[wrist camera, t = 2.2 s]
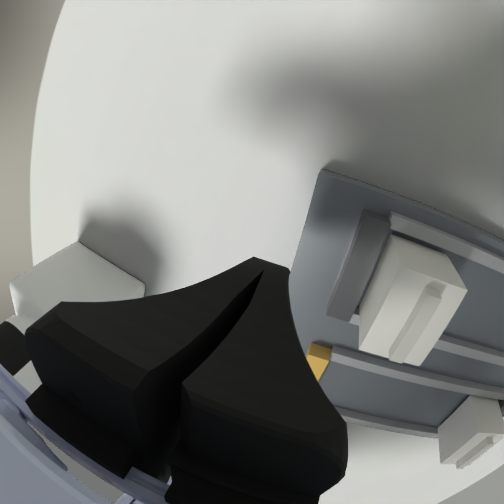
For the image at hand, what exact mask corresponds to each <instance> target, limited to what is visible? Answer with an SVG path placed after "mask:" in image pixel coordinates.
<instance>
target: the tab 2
mask: <svg viewBox="0 0 504 504" xmlns="http://www.w3.org/2000/svg"><path fill="white" fill-rule="evenodd" d="M503 437H504V421H503V417H502V413H501V409H500V406H499V402H498V399H491V398H485V397H479V396H474V395H470V396H469V397H468V398H467V399H466V400H465V401H464V402H463V403H462V404H461V405H460V407H459V408H458V409H457V410H456V411H455V412H454V413H453V414H452V415H451V416H450V417H449V418H448V419H447V420H446V421H445V422H444V423H443V424H441V425H440V426H439V427H438V438H439V451H440V464H456V467H457V469H463V468H464V467H466V466H467V465H470V464H471V463H473V462H474V461H475V460H476V459H478V458H479V457H480V456H482V455H483V454H484V453H485V452H487V451H488V450H489V449H490V448H492V447H493V446H494V445H495V444H496V443H497V442H499V441H500V440H501V439H502V438H503Z"/></svg>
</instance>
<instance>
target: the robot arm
mask: <svg viewBox="0 0 504 504" xmlns="http://www.w3.org/2000/svg"><path fill="white" fill-rule="evenodd" d="M289 275H290V270H289V269H288V268H286V267H283V266H280V265H277V264H274V263H271V262H268V261H265V260H262V259H259V258H256V257H252V258H250V259H248V260H246V261H244V262H242V263H240V264H238V265H236V266H235V267H233V268H231V269H229V270H227V271H224V272H222V273H220V274H218V275H216V276H214V277H211V278H209V279H206V280H204V281H202V282H199V283H197V284H194V285H191V286H188V287H185V288H182V289H178V290H175V291H171V292H167V293H163V294H158V295H153V296H148V297H142V298H137V299H129V300H120V301H107V302H65V301H61V302H60V303H58V304H57V305H56V306H55V307H53V308H52V309H51V310H49V311H48V312H47V313H46V314H44V315H43V316H42V317H41V318H39V319H38V320H37V321H36V322H34V323H33V324H32V325H31V326H29V327H28V328H27V329H26V331H25V334H24V339H25V346H26V349H27V352H28V354H29V357H30V359H31V361H32V363H33V366H34V368H35V370H36V372H37V374H38V376H39V378H40V380H41V382H42V384H41V385H40V386H39V387H38V388H37V389H36V390H35V391H34V392H33V393H32V394H31V393H30V392H29V391H28V390H26V389H25V388H24V387H23V386H22V385H21V384H20V383H19V382H18V381H17V380H16V379H15V378H14V377H13V376H12V375H11V374H10V373H9V372H8V371H7V370H6V369H5V368H4V367H3V366H2V365H1V364H0V504H113V503H112V502H110V501H109V500H107V499H105V498H104V497H102V496H101V495H99V494H98V493H96V492H95V491H93V490H91V489H90V488H89V487H87V486H85V485H84V484H83V483H81V482H80V481H79V480H77V479H75V478H74V477H73V476H72V475H70V474H69V473H67V470H68V469H67V466H66V465H65V464H63V462H62V461H60V460H59V458H58V457H57V456H56V455H55V454H54V453H53V452H52V451H51V450H50V449H49V447H48V446H47V445H46V443H45V442H44V440H43V439H42V438H41V437H40V436H39V435H38V434H37V433H36V432H35V431H34V430H33V429H32V428H31V427H30V426H29V425H28V423H27V421H28V422H29V423H30V424H31V425H32V426H33V427H34V428H36V429H37V430H38V431H39V432H40V433H41V434H42V435H43V436H45V437H46V438H47V439H48V440H49V441H51V442H52V443H53V444H54V445H55V446H57V447H58V448H59V449H60V450H62V451H63V452H64V453H66V454H67V455H68V456H70V457H71V458H72V459H74V460H75V461H76V462H78V463H79V464H80V465H82V466H83V467H85V468H86V469H88V470H89V471H91V472H92V473H93V474H95V475H96V476H98V477H100V478H101V479H103V480H104V481H106V482H107V483H109V484H111V485H112V486H114V487H116V488H117V489H119V490H121V491H122V492H124V494H123V495H122V496H121V497H120V498H119V499H118V500H117V502H116V503H115V504H318V501H319V497H320V495H321V494H323V493H324V492H326V491H327V490H328V489H330V488H331V487H333V486H334V485H336V484H337V483H338V482H339V481H340V480H341V479H342V478H343V477H344V476H345V471H346V468H347V462H348V435H347V424H346V422H345V420H344V419H343V418H342V416H341V415H340V414H339V412H338V411H337V410H336V408H335V407H334V406H333V404H332V403H331V402H330V400H329V399H328V397H327V396H326V394H325V393H324V391H323V389H322V388H321V386H320V384H319V383H318V381H317V379H316V377H315V375H314V373H313V371H312V369H311V367H310V365H309V363H308V361H307V359H306V356H305V354H304V351H303V349H302V346H301V344H300V341H299V338H298V335H297V331H296V328H295V324H294V320H293V315H292V311H291V305H290V297H289Z"/></svg>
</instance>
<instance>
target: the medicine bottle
mask: <svg viewBox="0 0 504 504" xmlns="http://www.w3.org/2000/svg"><path fill="white" fill-rule="evenodd" d="M10 290H11V295H12V300H13V304H14V308H15V312H16V315H12V316H11V317H10V318H8V319H7V320H6V321H4V322H3V323H2V324H0V364H1V365H2V366H3V367H4V368H5V369H6V370H7V371H8V372H9V373H10V374H11V375H12V376H13V377H14V378H15V379H16V380H17V381H18V382H19V383H20V384H21V385H22V386H23V387H24V388H25V389H26V390H28V391H29V392H30V393H31V394H32V393H33V392H34V391H35V390H36V389H37V388H38V387H39V386H40V385H41V384H42V382H41V380H40V378H39V376H38V374H37V372H36V370H35V368H34V366H33V363H32V361H31V359H30V357H29V354H28V352H27V349H26V346H25V339H24V334H25V331H26V329H27V328H28V327H29V326H31V325H32V324H33V323H34V322H36V321H37V320H38V319H39V318H41V317H42V316H43V315H44V314H46V313H47V312H48V311H49V310H51V309H52V308H53V307H55V306H56V305H57V304H58V303H60V302H61V301H65V302H107V301H120V300H129V299H137V298H142V297H144V293H145V285H144V283H142V282H141V281H139V280H137V279H136V278H134V277H132V276H131V275H129V274H127V273H126V272H124V271H123V270H121V269H119V268H118V267H116V266H115V265H113V264H111V263H110V262H108V261H107V260H105V259H103V258H102V257H100V256H99V255H97V254H96V253H94V252H93V251H91V250H90V249H88V248H87V247H85V246H84V245H82V244H81V243H79V242H75V243H73V244H71V245H69V246H68V247H66V248H64V249H62V250H61V251H59V252H57V253H56V254H54V255H52V256H50V257H49V258H47V259H45V260H44V261H42V262H41V263H39V264H37V265H36V266H34V267H32V268H31V269H29V270H28V271H26V272H24V273H23V274H21V275H20V276H18V277H17V278H15V279H14V280H12V281H11V282H10Z"/></svg>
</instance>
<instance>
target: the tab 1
mask: <svg viewBox="0 0 504 504" xmlns="http://www.w3.org/2000/svg"><path fill="white" fill-rule="evenodd" d="M467 291H468V290H467V288H466V286H465V285H464V283H463V281H462V279H461V278H460V276H459V274H458V272H457V271H456V269H455V267H454V266H453V264H452V262H451V261H450V259H449V258H448V256H447V255H446V254H444V253H441V252H438V251H436V250H433V249H431V248H428V247H425V246H423V245H420V244H417V243H415V242H412V241H409V240H407V239H404V238H401V237H398V236H396V235H393V234H391V235H390V237H389V240H388V242H387V245H386V247H385V250H384V252H383V255H382V257H381V259H380V262H379V264H378V267H377V269H376V271H375V274H374V276H373V278H372V280H371V283H370V285H369V287H368V289H367V292H366V294H365V296H364V298H363V300H362V302H361V304H360V307H359V350H361V351H365V352H368V353H372V354H375V355H379V356H382V357H386V358H389V360H390V361H394V362H397V363H401V364H402V363H403V362H404V363H408V364H412V365H416V366H420V365H421V363H422V362H423V361H424V359H425V358H426V357H427V355H428V354H429V352H430V351H431V349H432V348H433V346H434V345H435V343H436V342H437V340H438V339H439V337H440V336H441V334H442V333H443V331H444V330H445V328H446V327H447V325H448V323H449V322H450V320H451V319H452V317H453V315H454V314H455V312H456V310H457V308H458V307H459V305H460V303H461V302H462V300H463V298H464V296H465V294H466V293H467Z"/></svg>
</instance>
